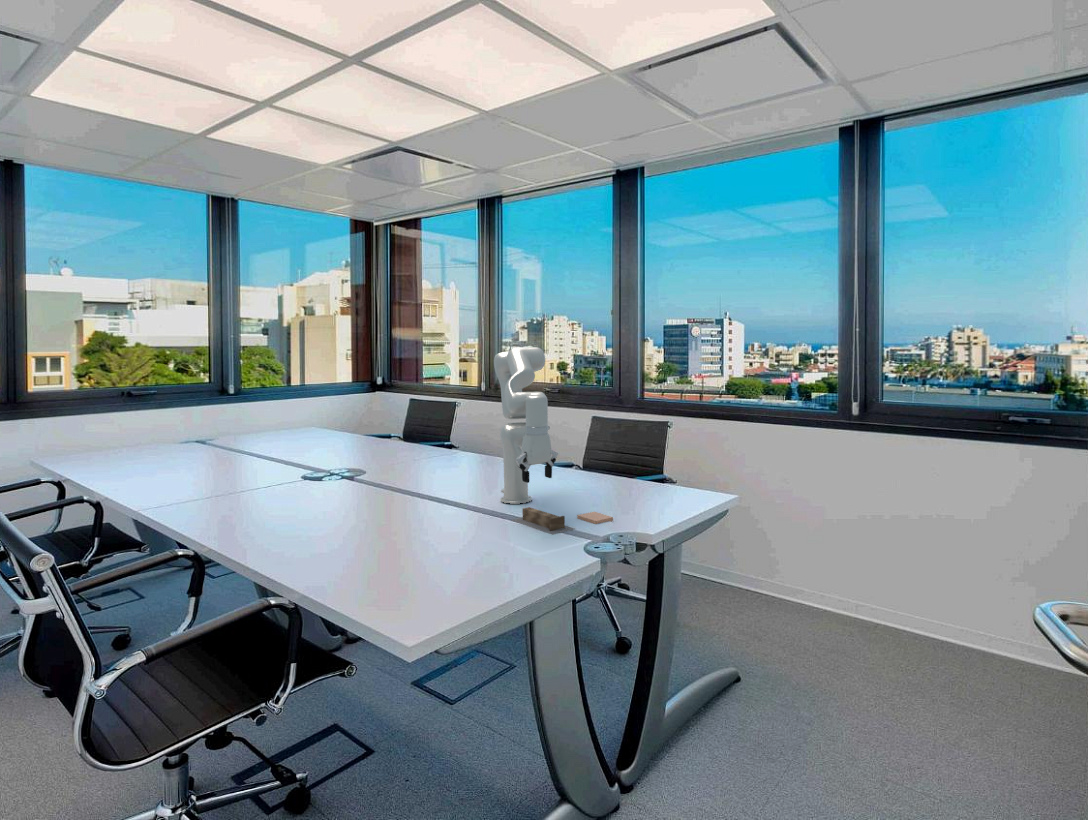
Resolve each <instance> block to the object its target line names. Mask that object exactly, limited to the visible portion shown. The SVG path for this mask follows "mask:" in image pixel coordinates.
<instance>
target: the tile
mask: <svg viewBox="0 0 1088 820" xmlns="http://www.w3.org/2000/svg"><path fill="white" fill-rule="evenodd" d="M576 517H577V518H576V519H578V520H581V521H585V522H587V523H591V524H595V525H597V524H602V523H607V522H609V523H613V522H614V517H613V516H611V515H608V514H604V513H601V512H598V511H590V512H586V513H580V514H577V515H576ZM612 521H613V522H612Z"/></svg>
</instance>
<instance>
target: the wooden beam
mask: <svg viewBox="0 0 1088 820" xmlns="http://www.w3.org/2000/svg"><path fill="white" fill-rule="evenodd" d="M521 513H522V517H523V520H525V521H528V522H531V523H534V524H537V525H540V526H543V527H546V528H549V531H553V530H558V529H562V528H565V526H566V524H565V523H566V521H565V517H566V516H565V515H556V514H553V513H550V512H547V511H543V510H541V509H537V508H533V507H529V506H528V507H524V508H522V512H521Z"/></svg>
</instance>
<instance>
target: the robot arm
mask: <svg viewBox="0 0 1088 820" xmlns="http://www.w3.org/2000/svg"><path fill="white" fill-rule="evenodd" d="M545 364H546V356H545V353H544V351H543V349H542V348H540V347H537V346H534V347H533V346H528V347H527V346H526V347H525V346H522V347H521V346H520V347H514V348H511V349H510V350H508V351H502V352H499V353H497V354H495V356H494V358H493V366H494V372H495V375H496V378H497V380H498V383H499V386H500V394H501V408H502V409H501V410H502V414H503V417H504V419H507V420H525V422H522V421H520V422H509V423H506V424H504V425H502V426H501V428H500V431H499V432H500V441H501V445H502V456H503V457H502V458H503V460H502V461H503V486H504V488H503V489H501V490H500V492H501V494H503V496H501V497H500V503H503V502H504V504H506V503H510V504H509V505H521V504H520V503H523V504H527V503H526V502H528V503H530V502H532V501H531V500H533V497H532V496H531V495H529V486H528V485H529V483H530V471H529V469H530V467H531V466H534V465H535V466H536V465H540V464H545V465H544V477H546V478H548V479H552V478H553V467H554V466H555V465H554V464H555V462H556V461H557V457H558V452H556V450H555V451H554V450H552V444H551V438H550V434H549V431H548V430H550V426H549V423H548V422H549V421H548V418H549V416H548V415H549V414H548V411H549V409H548V407H549V406H548V405H549V403H548V397H547V396H546V394H545V393H544V392H542V391H523V389H525V388H527V387H529V386H530V385H531V384H532V383H533V382H534V380H535V378H536V374H535V372H538V371H541V370H542V369H544V367H545ZM529 501H530V502H529Z"/></svg>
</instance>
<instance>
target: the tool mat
mask: <svg viewBox="0 0 1088 820" xmlns="http://www.w3.org/2000/svg"><path fill="white" fill-rule="evenodd" d="M511 521H512V522H515V523H518V524H521V525H524V526H526V527H530V528H532V529H535V530H538V531H541V532H544V533H547V534H550V535H558V534H561V533H566V532H570V531H574V530H576V528H574V527H572V526H568V525H565V528H562V529H558V530H553V531H549V528H546V527H543V526H540V525H537V524H534V523H531V522H528V521H525V520H523V516H522V517H519V518H513V519H511Z"/></svg>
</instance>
